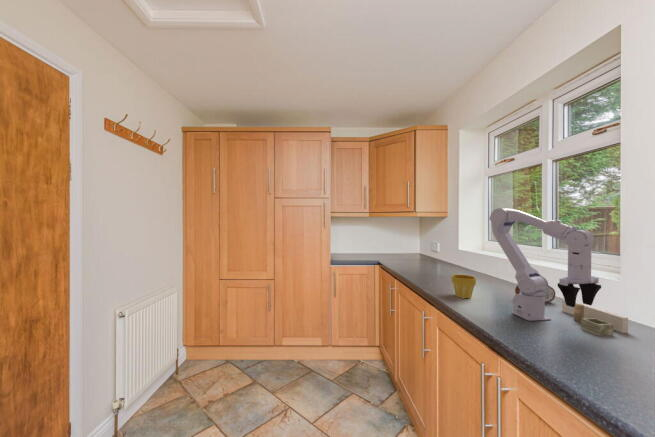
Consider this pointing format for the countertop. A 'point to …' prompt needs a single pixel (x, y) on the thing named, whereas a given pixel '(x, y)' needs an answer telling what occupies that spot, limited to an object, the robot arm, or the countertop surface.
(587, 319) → the socket block
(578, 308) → the dowel
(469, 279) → the plant pot
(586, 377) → the countertop surface
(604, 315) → the backstop wall
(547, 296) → the tin
